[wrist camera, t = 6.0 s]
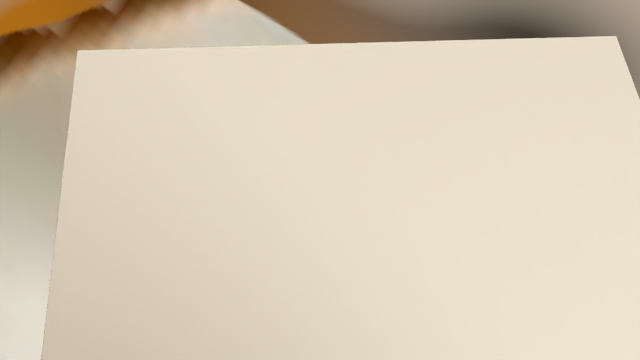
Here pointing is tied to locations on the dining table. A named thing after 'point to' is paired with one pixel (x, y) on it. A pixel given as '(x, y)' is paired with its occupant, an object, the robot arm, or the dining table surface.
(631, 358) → the cream tall block
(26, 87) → the dining table surface
